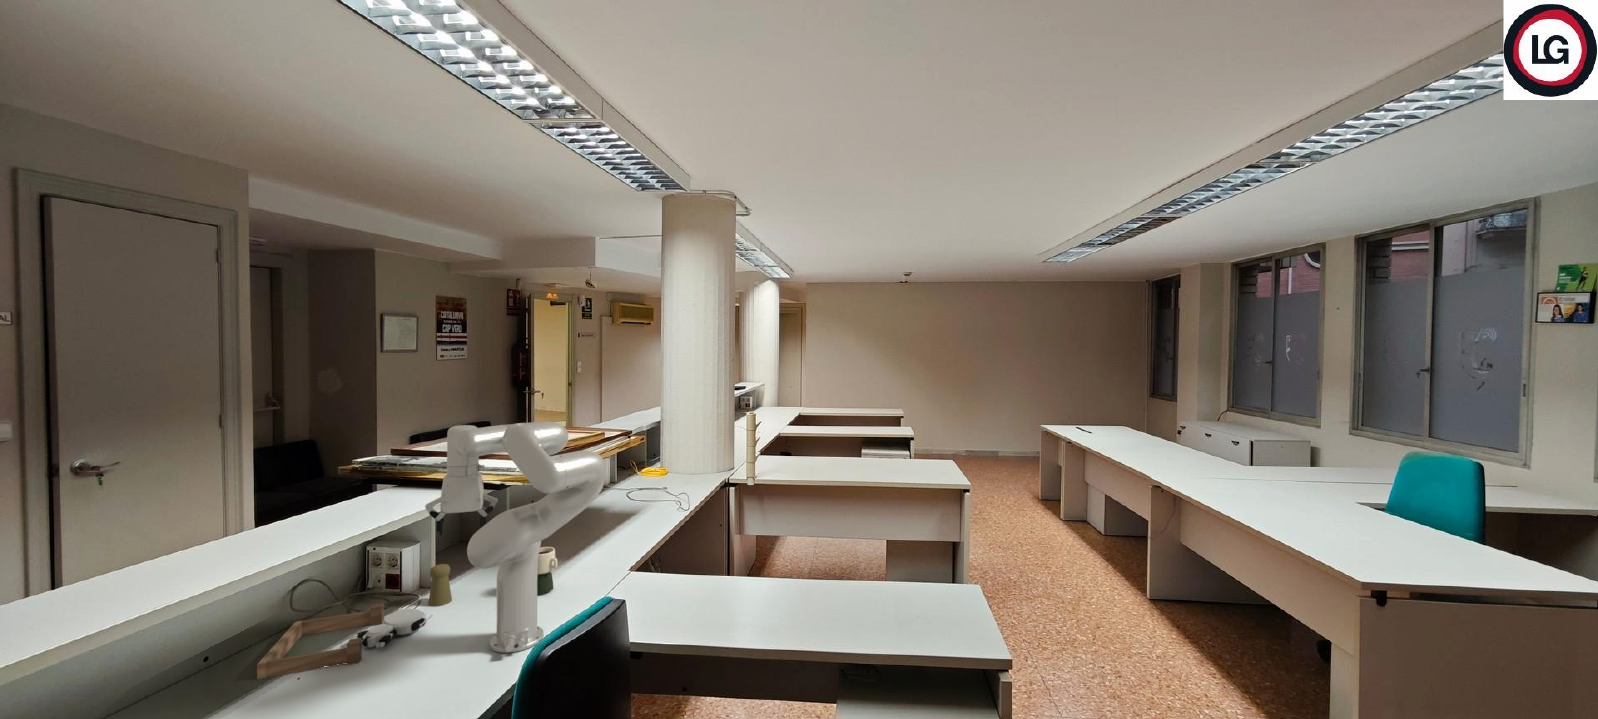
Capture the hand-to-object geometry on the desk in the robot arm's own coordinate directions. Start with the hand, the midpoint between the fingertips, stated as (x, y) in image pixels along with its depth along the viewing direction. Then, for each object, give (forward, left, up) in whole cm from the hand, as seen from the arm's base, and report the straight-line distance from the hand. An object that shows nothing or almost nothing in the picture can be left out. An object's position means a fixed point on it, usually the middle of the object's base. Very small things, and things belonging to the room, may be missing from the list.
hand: (462, 531), depth 157 cm
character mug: (+13, -20, -26) cm, 35 cm away
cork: (+17, +8, -26) cm, 32 cm away
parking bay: (-2, +30, -25) cm, 39 cm away
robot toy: (-2, +16, -26) cm, 30 cm away
